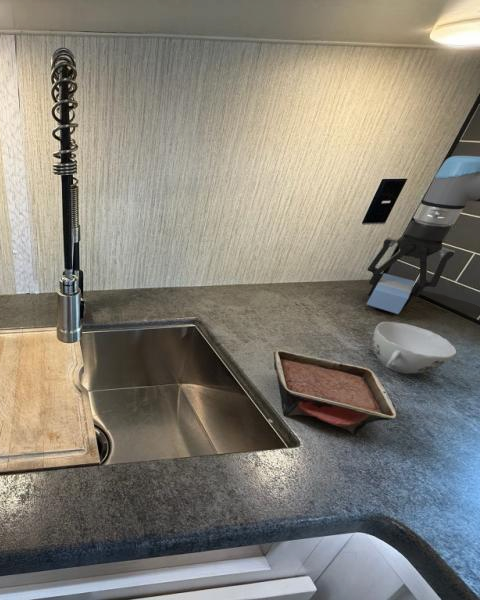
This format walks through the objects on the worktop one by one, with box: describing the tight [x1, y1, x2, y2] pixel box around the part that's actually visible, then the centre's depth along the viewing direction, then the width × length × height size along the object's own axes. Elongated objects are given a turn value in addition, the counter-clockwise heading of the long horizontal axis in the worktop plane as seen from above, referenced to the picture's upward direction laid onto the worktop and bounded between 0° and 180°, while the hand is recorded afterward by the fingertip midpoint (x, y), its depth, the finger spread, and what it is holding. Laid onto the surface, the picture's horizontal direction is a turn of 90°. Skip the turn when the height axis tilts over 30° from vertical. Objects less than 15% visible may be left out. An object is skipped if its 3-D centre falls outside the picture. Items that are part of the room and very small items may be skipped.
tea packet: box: [366, 273, 416, 315], centre depth 90 cm, size 15×7×5 cm, turn 132°
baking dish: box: [273, 349, 398, 436], centre depth 59 cm, size 14×18×10 cm
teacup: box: [372, 321, 457, 375], centre depth 68 cm, size 15×12×8 cm
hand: (386, 299), depth 91 cm, fingers closed on tea packet, 7 cm apart
